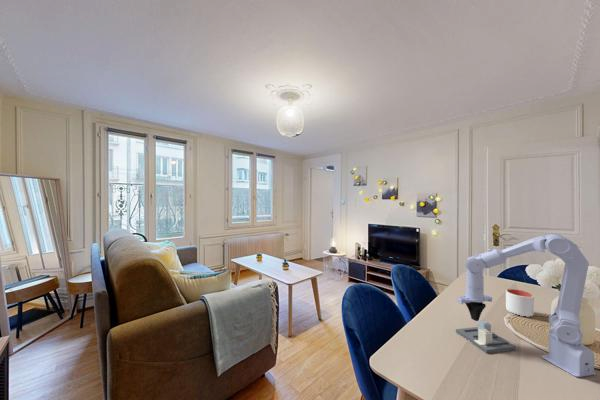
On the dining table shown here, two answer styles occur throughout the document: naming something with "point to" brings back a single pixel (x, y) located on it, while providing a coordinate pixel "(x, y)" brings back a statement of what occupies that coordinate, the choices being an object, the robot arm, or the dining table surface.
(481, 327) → the grey switch
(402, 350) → the dining table surface
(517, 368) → the dining table surface
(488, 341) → the cream switch
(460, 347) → the dining table surface
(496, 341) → the switch panel
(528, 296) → the cup
